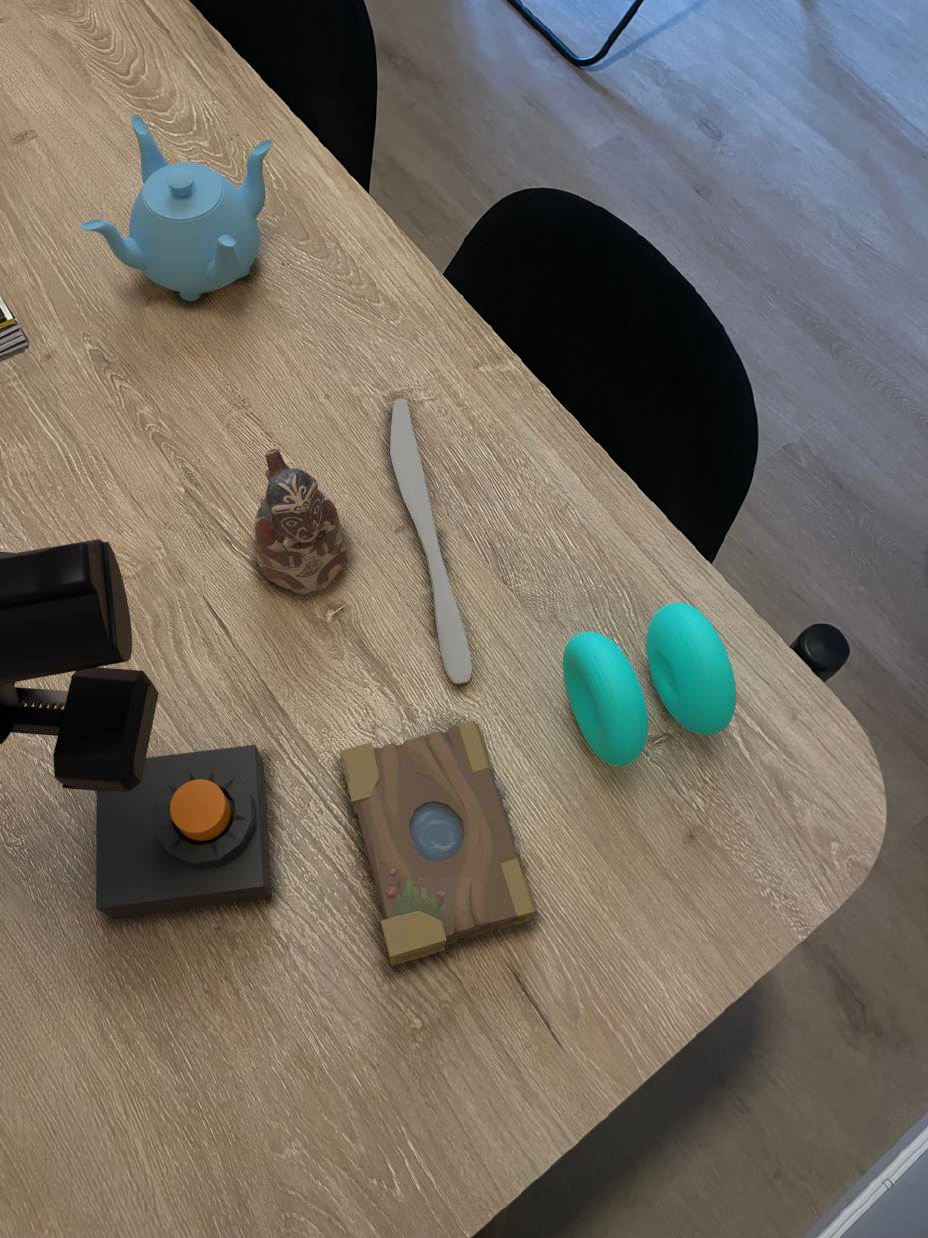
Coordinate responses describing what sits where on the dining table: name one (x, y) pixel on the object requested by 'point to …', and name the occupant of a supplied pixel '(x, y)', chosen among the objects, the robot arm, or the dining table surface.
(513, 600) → the dining table surface
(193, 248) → the teapot
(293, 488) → the figurine
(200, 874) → the black button base
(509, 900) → the book
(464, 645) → the butter knife
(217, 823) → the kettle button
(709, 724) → the donuts
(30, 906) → the dining table surface
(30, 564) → the robot arm
